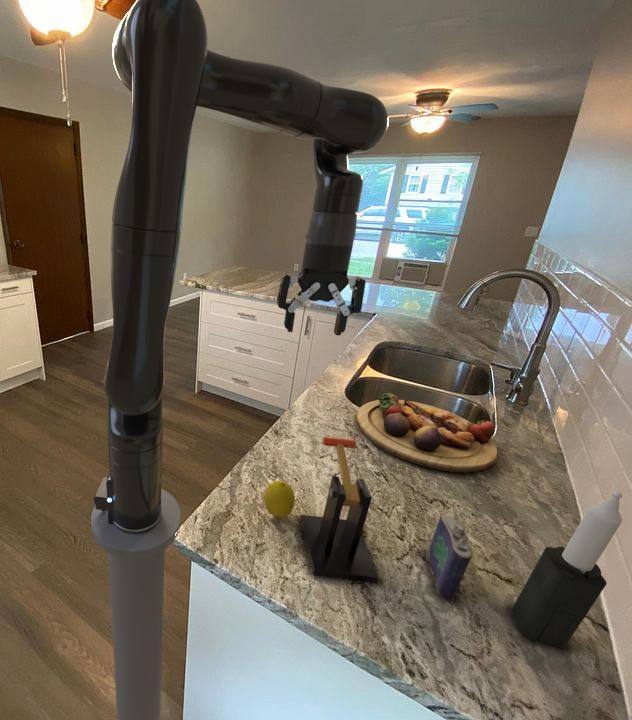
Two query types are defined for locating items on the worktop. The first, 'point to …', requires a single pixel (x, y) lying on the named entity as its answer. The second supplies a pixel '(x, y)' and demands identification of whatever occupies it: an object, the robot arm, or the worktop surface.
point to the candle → (567, 579)
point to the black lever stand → (340, 537)
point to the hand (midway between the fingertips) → (313, 332)
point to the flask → (448, 556)
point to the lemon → (279, 499)
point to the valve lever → (344, 469)
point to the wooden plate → (427, 435)
